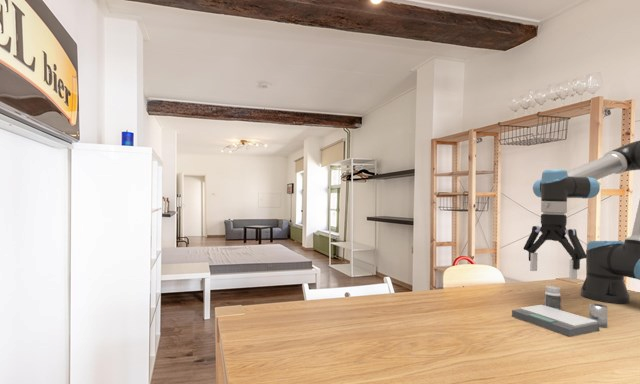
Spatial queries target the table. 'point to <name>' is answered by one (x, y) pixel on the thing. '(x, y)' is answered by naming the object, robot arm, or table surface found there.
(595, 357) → the table surface
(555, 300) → the pill bottle
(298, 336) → the table surface
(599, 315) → the cylinder
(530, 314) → the kitchen scale
